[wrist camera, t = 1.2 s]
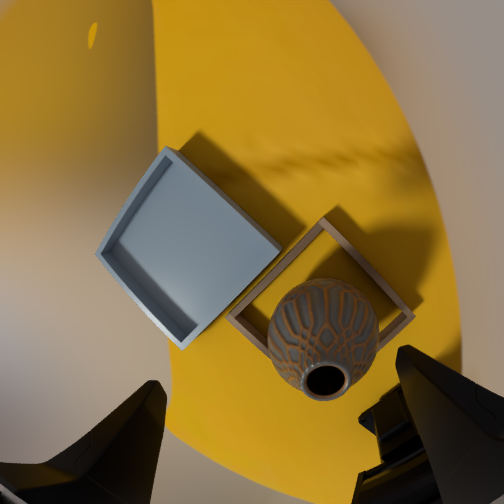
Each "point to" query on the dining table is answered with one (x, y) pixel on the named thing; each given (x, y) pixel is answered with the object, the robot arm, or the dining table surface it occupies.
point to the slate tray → (183, 247)
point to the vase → (323, 337)
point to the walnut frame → (234, 315)
